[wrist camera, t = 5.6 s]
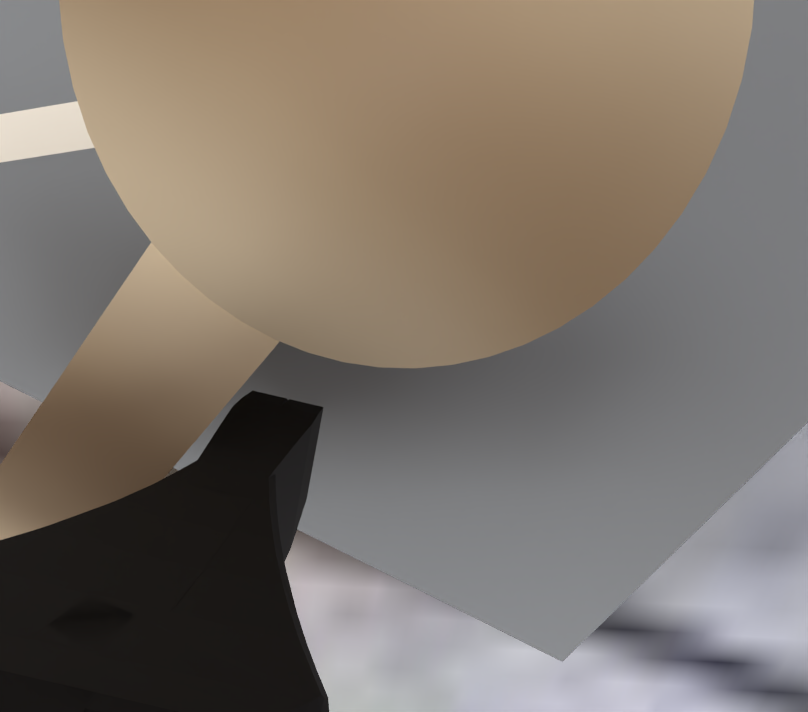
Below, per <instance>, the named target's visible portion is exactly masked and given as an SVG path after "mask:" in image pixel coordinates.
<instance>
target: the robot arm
mask: <svg viewBox="0 0 808 712" xmlns="http://www.w3.org/2000/svg"><path fill="white" fill-rule="evenodd" d="M322 413H323V407H321V406H317V405H312V404H308V403H304V402H300V401H295V400H291V399H289V400H287V398H283V397H278V396H274V395H270V394H266V393H261V392H257V391H253V390H252V391H251V392H250V393H248V394H247V395H245V396H244V397H242V398H241V399H240V400H239V401H238V402H237V403H236V404H234V405H233V407H232V408H231V410H230V411H229V413H228V414H227V416H226V417H225V419H224V420H223V422H222V423H221V424H220V426H219V428H218V429H217V431H216V432H215V434H214V435H213V437H212V438H211V440H210V441H209V443H208V445H207V446H206V448H205V449H204V451H203V452H202V454H201V455H200V457H199V458H198V460H196V461H195V462H193V463H191V464H189V465H188V466H186V467H184V468H182V469H181V470H179V471H177V472H175V473H174V474H172V475H170V476H168V477H166V478H164V479H162V480H160V481H158V482H156V483H154V484H152V485H150V486H148V487H145V488H143V489H141V490H139V491H137V492H134V493H132V494H130V495H128V496H125V497H123V498H121V499H118V500H116V501H114V502H111V503H109V504H106V505H103V506H100V507H98V508H95V509H92V510H90V511H87V512H84V513H81V514H79V515H76V516H73V517H70V518H68V519H65V520H62V521H59V522H57V523H54V524H51V525H48V526H45V527H42V528H39V529H36V530H33V531H29V532H26V533H23V534H19V535H16V536H13V537H10V538H6V539H3V540H0V712H329V704H328V697H327V694H326V692H325V689H324V687H323V684H322V682H321V680H320V677H319V675H318V672H317V670H316V667H315V665H314V662H313V659H312V657H311V654H310V651H309V649H308V646H307V643H306V640H305V637H304V634H303V631H302V628H301V625H300V622H299V618H298V615H297V612H296V608H295V604H294V600H293V596H292V592H291V588H290V584H289V580H288V576H287V573H286V568H285V563H284V562H285V559H286V557H287V555H288V553H289V551H290V548H291V545H292V542H293V539H294V536H295V533H296V530H297V528H298V524H299V521H300V518H301V515H302V512H303V509H304V506H305V503H306V500H307V495H308V489H309V484H310V478H311V473H312V467H313V462H314V456H315V451H316V446H317V440H318V435H319V429H320V424H321V418H322Z"/></svg>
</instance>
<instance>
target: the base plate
mask: <svg viewBox="0 0 808 712" xmlns="http://www.w3.org/2000/svg"><path fill="white" fill-rule="evenodd" d="M150 243H151V241H150V240H149V238H148V237H147V236H146V234H145V233H144V232H143V230H142V229H141V228H140V226H139V225H138V224H137V222H136V221H135V219H134V218H133V217H132V215H131V214H130V213H129V211H128V210H127V208H126V206H125V205H124V203H123V201H122V200H121V198H120V196H119V194H118V193H117V191H116V189H115V188H114V186H113V184H112V183H111V181H110V179H109V177H108V176H107V174H106V172H105V170H104V168H103V165H102V163H101V161H100V159H99V156H98V154H97V152H96V150H95V148H94V145H93V143H92V141H91V139H90V136H89V134H88V132H87V129H86V126H85V123H84V120H83V117H82V114H81V110H80V107H79V104H78V101H77V98H76V95H75V92H74V89H73V85H72V80H71V75H70V71H69V66H68V61H67V57H66V52H65V47H64V42H63V34H62V24H61V14H60V4H59V0H0V381H1V382H3V383H5V384H7V385H9V386H11V387H13V388H15V389H17V390H19V391H21V392H23V393H25V394H27V395H29V396H31V397H33V398H35V399H37V400H39V401H41V402H43V401H44V400H45V398H46V397H47V395H48V394H49V392H50V391H51V389H52V388H53V386H54V385H55V383H56V382H57V381H58V379H59V378H60V376H61V375H62V373H63V372H64V370H65V369H66V367H67V366H68V364H69V363H70V361H71V360H72V358H73V357H74V355H75V354H76V352H77V351H78V350H79V348H80V347H81V345H82V344H83V342H84V341H85V339H86V338H87V336H88V335H89V333H90V332H91V330H92V329H93V327H94V326H95V324H96V323H97V321H98V320H99V319H100V317H101V316H102V314H103V313H104V311H105V310H106V308H107V307H108V305H109V304H110V302H111V301H112V299H113V298H114V296H115V295H116V293H117V292H118V290H119V289H120V288H121V286H122V285H123V283H124V282H125V280H126V279H127V277H128V276H129V274H130V273H131V271H132V270H133V268H134V267H135V265H136V264H137V262H138V261H139V259H140V258H141V257H142V255H143V254H144V252H145V251H146V249H147V248H148V246H149V245H150ZM252 390H253V391H257V392H261V393H266V394H270V395H274V396H278V397H283V398H287V400H289V399H291V400H295V401H300V402H304V403H308V404H312V405H317V406H321V407H323V413H322V418H321V424H320V429H319V435H318V440H317V446H316V451H315V456H314V462H313V467H312V473H311V478H310V484H309V489H308V495H307V500H306V503H305V506H304V509H303V512H302V515H301V518H300V521H299V524H298V528H297V530H299V531H301V532H303V533H305V534H307V535H310V536H312V537H314V538H316V539H318V540H320V541H322V542H324V543H326V544H328V545H330V546H332V547H334V548H336V549H338V550H340V551H342V552H344V553H346V554H348V555H350V556H352V557H354V558H356V559H358V560H360V561H362V562H364V563H366V564H368V565H370V566H372V567H374V568H376V569H378V570H380V571H382V572H384V573H386V574H388V575H390V576H392V577H394V578H396V579H398V580H400V581H402V582H404V583H406V584H408V585H410V586H412V587H414V588H416V589H418V590H420V591H422V592H424V593H426V594H428V595H430V596H432V597H434V598H436V599H438V600H440V601H442V602H444V603H446V604H448V605H450V606H452V607H454V608H456V609H458V610H460V611H462V612H464V613H466V614H468V615H470V616H472V617H474V618H476V619H478V620H480V621H482V622H484V623H486V624H488V625H490V626H492V627H494V628H496V629H498V630H500V631H502V632H504V633H506V634H508V635H510V636H512V637H514V638H516V639H518V640H520V641H522V642H524V643H526V644H528V645H530V646H532V647H534V648H536V649H538V650H540V651H542V652H544V653H546V654H548V655H550V656H552V657H554V658H556V659H558V660H560V661H562V662H563V661H564V660H565V659H566V658H567V657H568V656H569V655H570V654H571V653H572V652H573V651H574V650H575V649H576V648H577V647H578V646H579V645H580V644H581V643H582V642H583V641H584V640H585V639H586V638H587V637H588V636H589V635H590V634H591V633H593V632H594V631H595V630H596V629H597V628H598V627H599V626H600V625H601V624H602V623H603V622H604V621H605V620H606V619H607V618H608V617H609V616H610V615H611V614H612V613H613V612H614V611H615V610H616V609H617V608H618V607H619V606H620V605H621V604H622V603H623V602H624V601H625V600H626V599H627V598H628V597H629V596H630V595H631V594H632V593H633V592H635V591H636V590H637V589H638V588H639V587H640V586H641V585H642V584H643V583H644V582H645V581H646V580H647V579H648V578H649V577H650V576H651V575H652V574H653V573H654V572H655V571H656V570H657V569H658V568H659V567H660V566H661V565H662V564H663V563H664V562H665V561H666V560H667V559H668V558H669V557H670V556H671V555H672V554H673V553H674V552H675V551H676V550H678V549H679V548H680V547H681V546H682V545H683V544H684V543H685V542H686V541H687V540H688V539H689V538H690V537H691V536H692V535H693V534H694V533H695V532H696V531H697V530H698V529H699V528H700V527H701V526H702V525H703V524H704V523H705V522H706V521H707V520H708V519H709V518H710V517H711V516H712V515H713V514H714V513H715V512H716V511H717V510H718V509H720V508H721V507H722V506H723V505H724V504H725V503H726V502H727V501H728V500H729V499H730V498H731V497H732V496H733V495H734V494H735V493H736V492H737V491H738V490H739V489H740V488H741V487H742V486H743V485H744V484H745V483H746V482H747V481H748V480H749V479H750V478H751V477H752V476H753V475H754V474H755V473H756V472H757V471H758V470H759V469H760V468H762V467H763V466H764V465H765V464H766V463H767V462H768V461H769V460H770V459H771V458H772V457H773V456H774V455H775V454H776V453H777V452H778V451H779V450H780V449H781V448H782V447H783V446H784V445H785V444H786V443H787V442H788V441H789V440H790V439H791V438H792V437H793V436H794V435H795V434H796V433H797V432H798V431H799V430H800V429H801V428H802V427H804V426H805V425H806V424H807V423H808V0H754V8H753V22H752V31H751V36H750V41H749V46H748V51H747V56H746V61H745V67H744V72H743V77H742V81H741V84H740V87H739V90H738V94H737V97H736V100H735V103H734V106H733V109H732V112H731V116H730V119H729V122H728V125H727V128H726V130H725V133H724V135H723V137H722V139H721V141H720V144H719V146H718V148H717V150H716V153H715V155H714V157H713V159H712V161H711V164H710V166H709V168H708V170H707V172H706V174H705V176H704V178H703V179H702V181H701V183H700V184H699V186H698V188H697V189H696V191H695V193H694V194H693V196H692V198H691V199H690V201H689V203H688V204H687V206H686V208H685V209H684V211H683V213H682V214H681V215H680V217H679V218H678V219H677V221H676V222H675V223H674V225H673V226H672V227H671V228H670V230H669V231H668V232H667V234H666V235H665V236H664V238H663V239H662V240H661V242H660V243H659V244H658V245H657V247H656V248H655V249H654V250H653V251H652V252H651V253H650V254H649V255H648V257H647V258H646V259H645V260H644V261H643V262H642V263H641V264H640V265H639V266H638V267H637V268H636V269H635V270H634V271H633V272H632V273H631V274H630V275H629V276H628V277H627V278H626V279H625V280H624V281H623V282H622V283H621V284H619V285H618V286H617V287H616V288H614V289H613V290H612V291H611V292H610V293H608V294H607V295H606V296H605V297H603V298H602V299H601V300H600V301H599V302H597V303H596V304H595V305H594V306H592V307H591V308H589V309H588V310H586V311H585V312H583V313H581V314H580V315H578V316H577V317H575V318H574V319H572V320H570V321H569V322H567V323H566V324H564V325H563V326H561V327H559V328H558V329H556V330H553V331H551V332H549V333H547V334H545V335H543V336H541V337H539V338H537V339H535V340H533V341H531V342H529V343H527V344H525V345H522V346H519V347H516V348H513V349H510V350H507V351H504V352H502V353H499V354H496V355H493V356H490V357H486V358H482V359H477V360H473V361H468V362H463V363H459V364H454V365H446V366H435V367H425V368H382V367H373V366H366V365H359V364H352V363H345V362H341V361H337V360H333V359H330V358H326V357H322V356H318V355H315V354H311V353H308V352H305V351H303V350H300V349H298V348H295V347H293V346H290V345H288V344H285V343H282V342H279V343H278V344H277V345H276V346H275V348H274V349H273V350H272V351H271V352H270V354H269V355H268V356H267V357H266V358H265V359H264V361H263V362H262V363H261V364H260V365H259V367H258V368H257V369H256V370H255V371H254V372H253V374H252V375H251V376H250V377H249V378H248V380H247V381H246V382H245V383H244V384H243V385H242V387H241V388H240V389H239V390H238V391H237V393H236V394H235V395H234V396H233V397H232V398H231V400H230V401H229V402H228V403H227V404H226V406H225V407H224V408H223V409H222V410H221V411H220V413H219V414H218V415H217V416H216V417H215V419H214V420H213V421H212V422H211V423H210V424H209V426H208V427H207V428H206V429H205V430H204V432H203V433H202V434H201V435H200V436H199V437H198V439H197V440H196V441H195V442H194V443H193V445H192V446H191V447H190V448H189V449H188V450H187V452H186V453H185V454H184V455H183V456H182V458H181V459H180V460H179V461H178V462H177V463H176V465H175V466H174V467H173V468H175V469H177V470H181V469H182V468H184V467H186V466H188V465H189V464H191V463H193V462H195V461H196V460H198V458H199V457H200V455H201V454H202V452H203V451H204V449H205V448H206V446H207V445H208V443H209V441H210V440H211V438H212V437H213V435H214V434H215V432H216V431H217V429H218V428H219V426H220V424H221V423H222V422H223V420H224V419H225V417H226V416H227V414H228V413H229V411H230V410H231V408H232V407H233V405H234V404H236V403H237V402H238V401H239V400H240V399H241V398H242V397H244V396H245V395H247V394H248V393H250V392H251V391H252Z"/></svg>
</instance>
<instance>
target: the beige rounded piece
mask: <svg viewBox="0 0 808 712" xmlns="http://www.w3.org/2000/svg"><path fill="white" fill-rule="evenodd" d="M59 4H60V14H61V24H62V34H63V42H64V47H65V52H66V57H67V61H68V66H69V71H70V75H71V80H72V85H73V89H74V92H75V95H76V98H77V101H78V104H79V107H80V110H81V114H82V117H83V120H84V123H85V126H86V129H87V132H88V134H89V136H90V139H91V141H92V143H93V145H94V148H95V150H96V152H97V154H98V156H99V159H100V161H101V163H102V165H103V168H104V170H105V172H106V174H107V176H108V177H109V179H110V181H111V183H112V184H113V186H114V188H115V189H116V191H117V193H118V194H119V196H120V198H121V200H122V201H123V203H124V205H125V206H126V208H127V210H128V211H129V213H130V214H131V215H132V217H133V218H134V219H135V221H136V222H137V224H138V225H139V226H140V228H141V229H142V230H143V232H144V233H145V234H146V236H147V237H148V238H149V240H150V241H151V243H150V245H149V246H148V248H147V249H146V251H145V252H144V254H143V255H142V257H141V258H140V259H139V261H138V262H137V264H136V265H135V267H134V268H133V270H132V271H131V273H130V274H129V276H128V277H127V279H126V280H125V282H124V283H123V285H122V286H121V288H120V289H119V290H118V292H117V293H116V295H115V296H114V298H113V299H112V301H111V302H110V304H109V305H108V307H107V308H106V310H105V311H104V313H103V314H102V316H101V317H100V319H99V320H98V321H97V323H96V324H95V326H94V327H93V329H92V330H91V332H90V333H89V335H88V336H87V338H86V339H85V341H84V342H83V344H82V345H81V347H80V348H79V350H78V351H77V352H76V354H75V355H74V357H73V358H72V360H71V361H70V363H69V364H68V366H67V367H66V369H65V370H64V372H63V373H62V375H61V376H60V378H59V379H58V381H57V382H56V383H55V385H54V386H53V388H52V389H51V391H50V392H49V394H48V395H47V397H46V398H45V400H44V401H43V403H42V404H41V406H40V407H39V409H38V410H37V412H36V413H35V414H34V416H33V417H32V419H31V420H30V422H29V423H28V425H27V426H26V428H25V429H24V431H23V432H22V434H21V435H20V437H19V438H18V440H17V441H16V443H15V444H14V445H13V447H12V448H11V450H10V451H9V453H8V454H7V456H6V457H5V459H4V460H3V462H2V463H1V465H0V540H3V539H6V538H10V537H13V536H16V535H19V534H23V533H26V532H29V531H33V530H36V529H39V528H42V527H45V526H48V525H51V524H54V523H57V522H59V521H62V520H65V519H68V518H70V517H73V516H76V515H79V514H81V513H84V512H87V511H90V510H92V509H95V508H98V507H100V506H103V505H106V504H109V503H111V502H114V501H116V500H118V499H121V498H123V497H125V496H128V495H130V494H132V493H134V492H137V491H139V490H141V489H143V488H145V487H148V486H150V485H152V484H154V483H156V482H158V481H160V480H162V479H164V478H165V476H166V475H167V474H168V473H169V472H170V470H171V469H172V468H173V467H174V466H175V465H176V463H177V462H178V461H179V460H180V459H181V458H182V456H183V455H184V454H185V453H186V452H187V450H188V449H189V448H190V447H191V446H192V445H193V443H194V442H195V441H196V440H197V439H198V437H199V436H200V435H201V434H202V433H203V432H204V430H205V429H206V428H207V427H208V426H209V424H210V423H211V422H212V421H213V420H214V419H215V417H216V416H217V415H218V414H219V413H220V411H221V410H222V409H223V408H224V407H225V406H226V404H227V403H228V402H229V401H230V400H231V398H232V397H233V396H234V395H235V394H236V393H237V391H238V390H239V389H240V388H241V387H242V385H243V384H244V383H245V382H246V381H247V380H248V378H249V377H250V376H251V375H252V374H253V372H254V371H255V370H256V369H257V368H258V367H259V365H260V364H261V363H262V362H263V361H264V359H265V358H266V357H267V356H268V355H269V354H270V352H271V351H272V350H273V349H274V348H275V346H276V345H277V344H278V343H279V342H282V343H285V344H288V345H290V346H293V347H295V348H298V349H300V350H303V351H305V352H308V353H311V354H315V355H318V356H322V357H326V358H330V359H333V360H337V361H341V362H345V363H352V364H359V365H366V366H373V367H382V368H425V367H435V366H446V365H454V364H459V363H463V362H468V361H473V360H477V359H482V358H486V357H490V356H493V355H496V354H499V353H502V352H504V351H507V350H510V349H513V348H516V347H519V346H522V345H525V344H527V343H529V342H531V341H533V340H535V339H537V338H539V337H541V336H543V335H545V334H547V333H549V332H551V331H553V330H556V329H558V328H559V327H561V326H563V325H564V324H566V323H567V322H569V321H570V320H572V319H574V318H575V317H577V316H578V315H580V314H581V313H583V312H585V311H586V310H588V309H589V308H591V307H592V306H594V305H595V304H596V303H597V302H599V301H600V300H601V299H602V298H603V297H605V296H606V295H607V294H608V293H610V292H611V291H612V290H613V289H614V288H616V287H617V286H618V285H619V284H621V283H622V282H623V281H624V280H625V279H626V278H627V277H628V276H629V275H630V274H631V273H632V272H633V271H634V270H635V269H636V268H637V267H638V266H639V265H640V264H641V263H642V262H643V261H644V260H645V259H646V258H647V257H648V255H649V254H650V253H651V252H652V251H653V250H654V249H655V248H656V247H657V245H658V244H659V243H660V242H661V240H662V239H663V238H664V236H665V235H666V234H667V232H668V231H669V230H670V228H671V227H672V226H673V225H674V223H675V222H676V221H677V219H678V218H679V217H680V215H681V214H682V213H683V211H684V209H685V208H686V206H687V204H688V203H689V201H690V199H691V198H692V196H693V194H694V193H695V191H696V189H697V188H698V186H699V184H700V183H701V181H702V179H703V178H704V176H705V174H706V172H707V170H708V168H709V166H710V164H711V161H712V159H713V157H714V155H715V153H716V150H717V148H718V146H719V144H720V141H721V139H722V137H723V135H724V133H725V130H726V128H727V125H728V122H729V119H730V116H731V112H732V109H733V106H734V103H735V100H736V97H737V94H738V90H739V87H740V84H741V81H742V77H743V72H744V67H745V61H746V56H747V51H748V46H749V41H750V36H751V31H752V22H753V8H754V0H59Z"/></svg>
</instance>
